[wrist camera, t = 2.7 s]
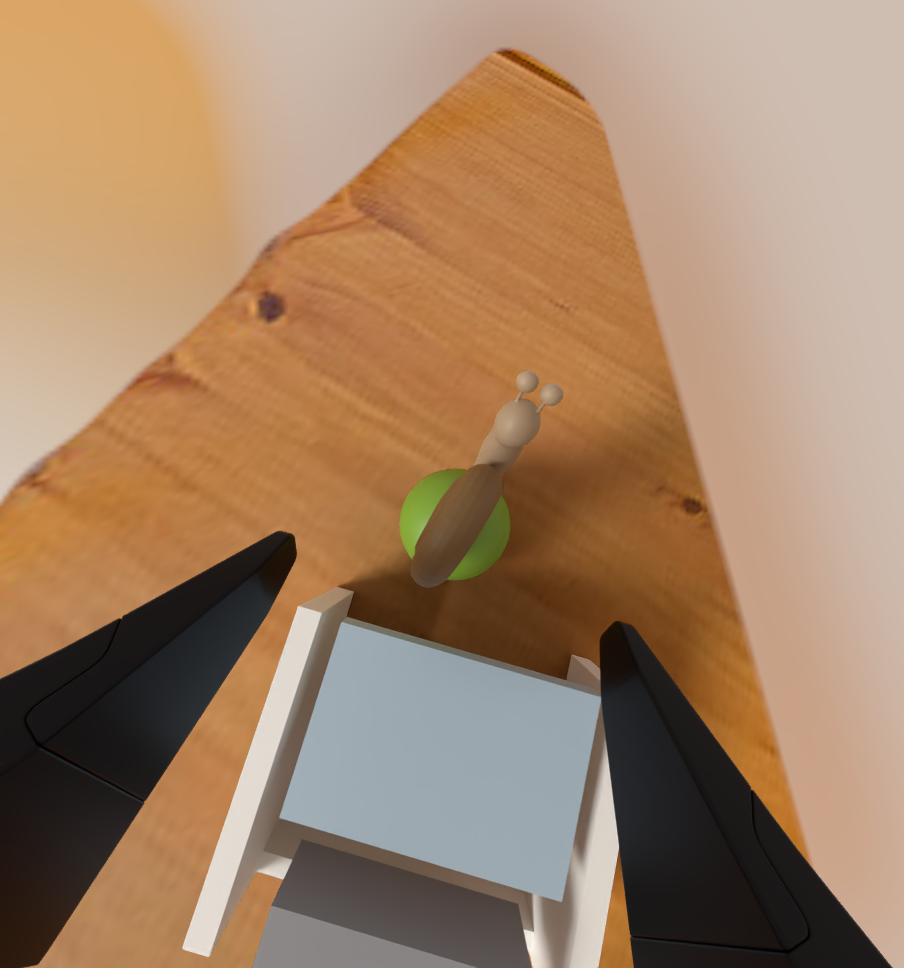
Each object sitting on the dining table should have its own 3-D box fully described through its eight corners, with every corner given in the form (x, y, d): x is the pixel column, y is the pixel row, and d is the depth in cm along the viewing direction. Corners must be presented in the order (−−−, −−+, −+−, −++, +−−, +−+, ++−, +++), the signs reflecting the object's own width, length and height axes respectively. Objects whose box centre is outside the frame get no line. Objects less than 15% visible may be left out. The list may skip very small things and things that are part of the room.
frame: (589, 659, 18) (643, 706, 13) (538, 908, 16) (580, 1070, 11) (336, 586, 18) (298, 606, 13) (259, 825, 17) (181, 948, 12)
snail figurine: (523, 493, 20) (651, 429, 8) (471, 591, 19) (522, 691, 7) (444, 448, 20) (448, 319, 8) (388, 542, 19) (297, 556, 7)
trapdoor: (584, 679, 14) (611, 707, 12) (519, 998, 13) (537, 1106, 10) (352, 612, 15) (334, 627, 12) (256, 919, 13) (213, 1006, 10)
